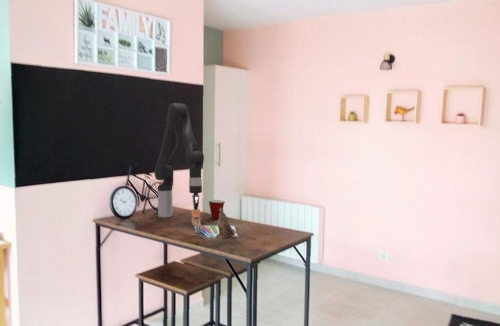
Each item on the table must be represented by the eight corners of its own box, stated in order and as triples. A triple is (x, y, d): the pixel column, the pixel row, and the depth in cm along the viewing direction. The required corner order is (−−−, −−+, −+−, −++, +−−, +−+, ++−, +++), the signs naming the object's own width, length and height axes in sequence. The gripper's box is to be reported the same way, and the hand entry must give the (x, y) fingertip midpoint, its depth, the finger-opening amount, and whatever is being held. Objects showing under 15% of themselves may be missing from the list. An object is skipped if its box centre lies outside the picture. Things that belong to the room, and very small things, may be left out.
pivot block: (193, 223, 257) (193, 215, 256) (198, 223, 257) (197, 215, 257) (193, 225, 253) (193, 216, 253) (198, 224, 254) (198, 216, 253)
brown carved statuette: (222, 243, 224) (217, 212, 219) (214, 241, 227) (210, 210, 222) (236, 234, 233) (232, 203, 228) (228, 232, 236) (224, 202, 231)
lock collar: (191, 224, 253) (191, 209, 252) (200, 223, 254) (200, 209, 253) (192, 225, 250) (191, 210, 249) (200, 224, 251) (200, 210, 250)
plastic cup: (228, 218, 270) (228, 200, 269) (216, 221, 262) (216, 202, 261) (217, 216, 277) (217, 198, 276) (204, 219, 269) (204, 200, 268)
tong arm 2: (196, 224, 253) (196, 218, 252) (198, 224, 253) (198, 218, 253) (198, 232, 235) (198, 225, 235) (200, 232, 235) (200, 225, 235)
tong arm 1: (193, 225, 252) (193, 218, 252) (195, 224, 253) (195, 218, 252) (195, 232, 235) (195, 225, 234) (198, 232, 235) (198, 225, 235)
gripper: (202, 186, 248) (203, 215, 250) (200, 182, 261) (201, 210, 263) (189, 186, 247) (190, 215, 248) (188, 183, 259) (189, 211, 261)
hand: (195, 213), depth 255 cm, fingers closed
